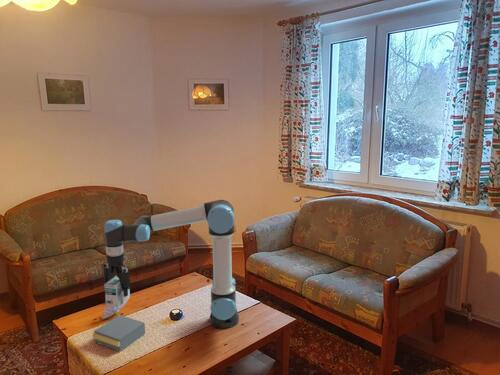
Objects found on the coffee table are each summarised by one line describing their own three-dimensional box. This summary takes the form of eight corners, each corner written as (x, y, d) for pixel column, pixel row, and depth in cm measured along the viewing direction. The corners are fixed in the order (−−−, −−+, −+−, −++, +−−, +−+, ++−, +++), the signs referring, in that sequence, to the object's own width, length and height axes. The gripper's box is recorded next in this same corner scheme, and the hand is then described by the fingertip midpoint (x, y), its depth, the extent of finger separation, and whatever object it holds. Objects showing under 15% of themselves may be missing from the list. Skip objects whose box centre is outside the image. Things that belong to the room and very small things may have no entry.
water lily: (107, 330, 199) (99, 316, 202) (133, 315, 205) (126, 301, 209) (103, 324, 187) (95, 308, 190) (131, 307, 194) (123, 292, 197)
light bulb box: (118, 307, 171) (117, 285, 169) (105, 306, 172) (103, 284, 170) (130, 297, 181) (129, 276, 179) (117, 295, 183) (116, 274, 181)
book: (145, 333, 183) (144, 322, 182) (118, 353, 169) (117, 340, 167) (120, 326, 191) (119, 315, 190) (93, 343, 176) (92, 331, 175)
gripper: (92, 252, 174) (96, 299, 178) (125, 260, 165) (128, 308, 169) (105, 248, 180) (108, 292, 185) (138, 254, 171) (140, 301, 175)
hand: (118, 300), depth 177 cm, fingers closed on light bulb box, 8 cm apart
